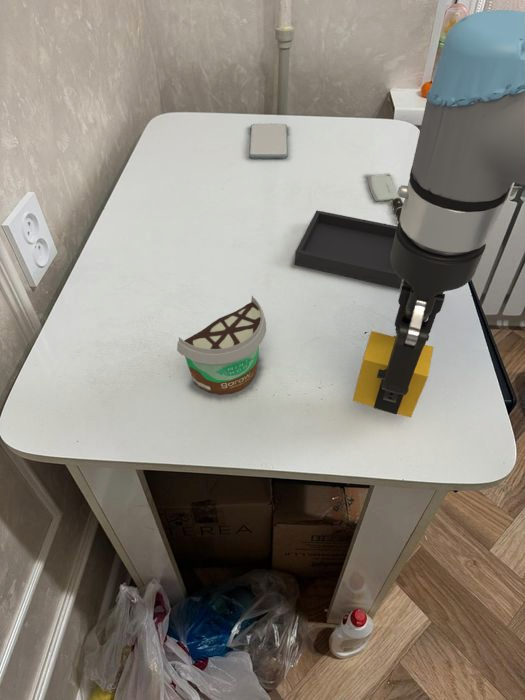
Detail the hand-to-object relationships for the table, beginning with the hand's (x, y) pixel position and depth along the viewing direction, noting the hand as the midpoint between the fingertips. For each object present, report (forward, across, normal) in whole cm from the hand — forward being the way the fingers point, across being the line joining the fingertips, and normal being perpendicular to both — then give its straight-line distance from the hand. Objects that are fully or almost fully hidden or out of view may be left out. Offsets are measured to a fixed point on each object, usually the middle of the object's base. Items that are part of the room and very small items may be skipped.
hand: (389, 391), depth 60 cm
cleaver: (+5, -49, -9) cm, 50 cm away
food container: (+5, +1, -20) cm, 21 cm away
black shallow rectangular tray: (+5, -31, -11) cm, 33 cm away
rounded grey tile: (+5, -63, -38) cm, 74 cm away
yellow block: (+1, 0, 0) cm, 1 cm away
